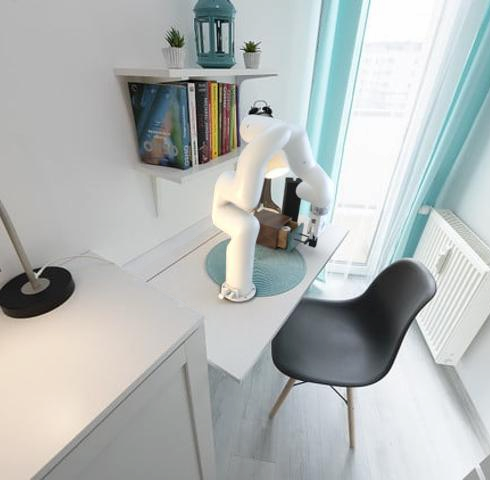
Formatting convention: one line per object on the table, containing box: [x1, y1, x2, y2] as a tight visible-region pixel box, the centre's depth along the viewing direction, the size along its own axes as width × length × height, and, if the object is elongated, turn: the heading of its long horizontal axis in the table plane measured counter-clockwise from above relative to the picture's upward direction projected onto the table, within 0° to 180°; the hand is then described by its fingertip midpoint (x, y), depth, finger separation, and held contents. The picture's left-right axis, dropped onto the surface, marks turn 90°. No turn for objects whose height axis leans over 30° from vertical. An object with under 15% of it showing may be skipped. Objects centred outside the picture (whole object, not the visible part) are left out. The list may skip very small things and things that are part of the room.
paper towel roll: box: [280, 226, 291, 242], centre depth 134 cm, size 5×5×6 cm
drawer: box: [276, 221, 309, 253], centre depth 134 cm, size 20×14×9 cm, turn 57°
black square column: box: [280, 172, 303, 223], centre depth 147 cm, size 8×8×28 cm
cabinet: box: [253, 208, 292, 250], centre depth 138 cm, size 16×15×11 cm
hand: (312, 246), depth 129 cm, fingers closed
